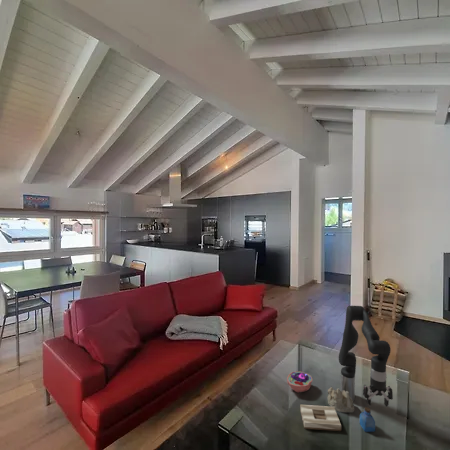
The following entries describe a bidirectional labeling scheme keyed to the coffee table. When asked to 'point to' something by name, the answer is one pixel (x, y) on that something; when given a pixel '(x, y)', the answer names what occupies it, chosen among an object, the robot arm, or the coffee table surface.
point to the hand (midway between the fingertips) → (377, 405)
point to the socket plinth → (320, 418)
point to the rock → (340, 400)
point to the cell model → (299, 381)
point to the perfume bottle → (367, 420)
